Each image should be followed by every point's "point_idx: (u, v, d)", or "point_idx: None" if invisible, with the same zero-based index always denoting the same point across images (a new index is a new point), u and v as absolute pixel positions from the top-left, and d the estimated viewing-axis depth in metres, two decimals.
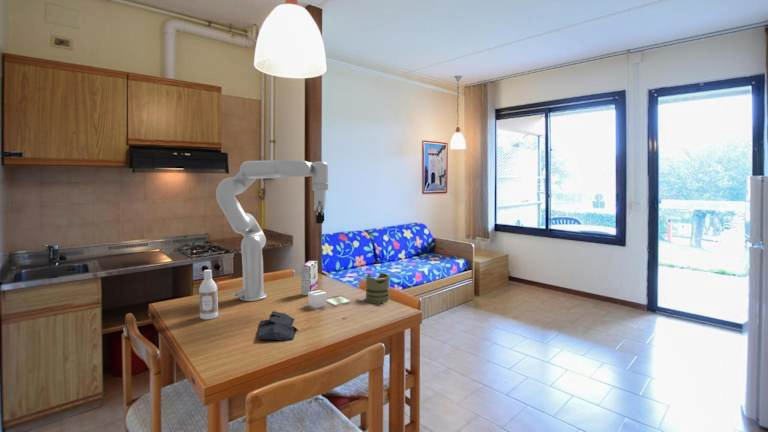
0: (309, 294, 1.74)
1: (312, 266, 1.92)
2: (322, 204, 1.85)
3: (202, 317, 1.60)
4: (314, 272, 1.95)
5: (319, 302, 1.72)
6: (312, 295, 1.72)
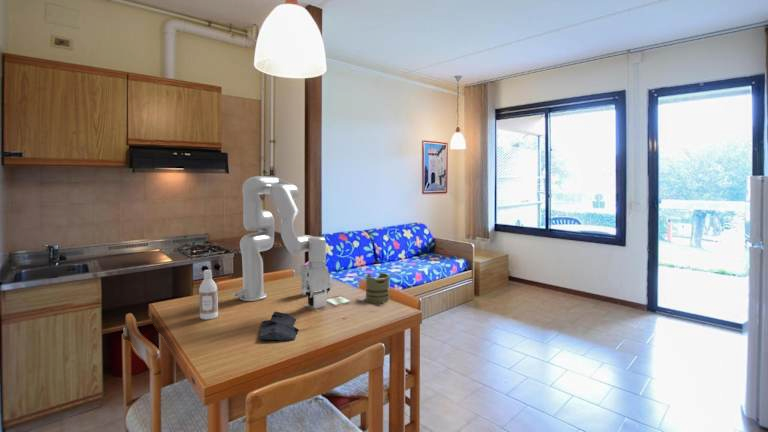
0: None
1: None
2: None
3: (202, 317, 1.60)
4: None
5: (319, 302, 1.72)
6: None
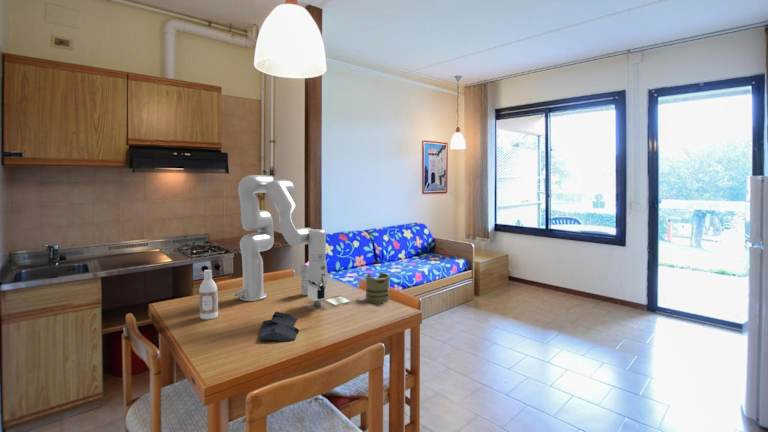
0: (316, 289, 1.71)
1: None
2: None
3: (202, 317, 1.60)
4: None
5: None
6: None
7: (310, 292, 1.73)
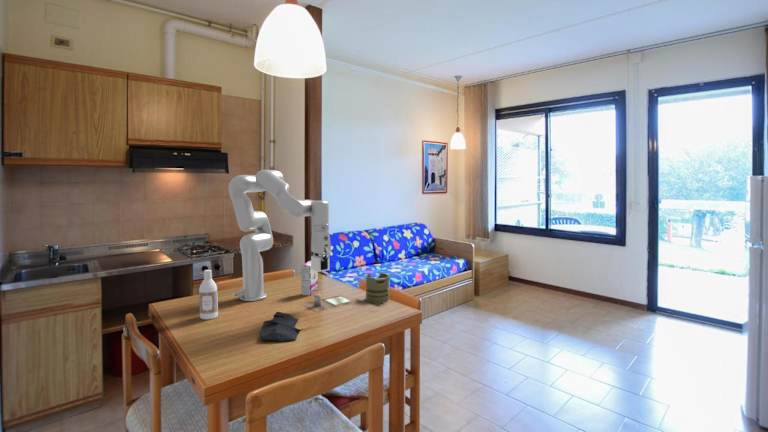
0: (320, 259, 1.71)
1: None
2: None
3: (202, 317, 1.60)
4: (314, 272, 1.95)
5: None
6: None
7: (313, 264, 1.73)
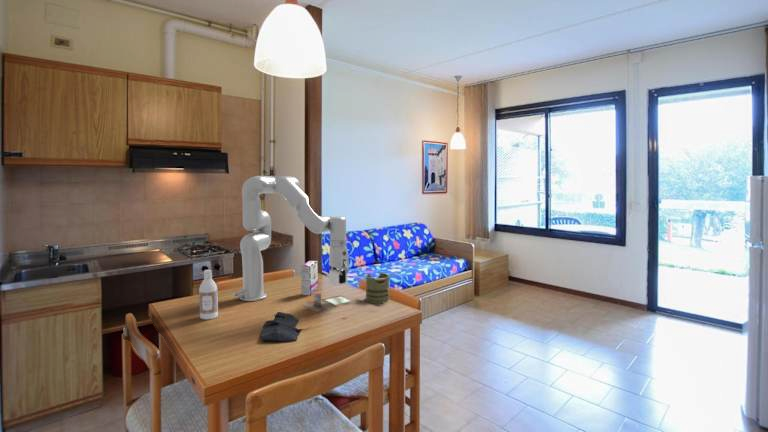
0: (338, 273, 1.77)
1: (312, 266, 1.92)
2: None
3: (202, 317, 1.60)
4: (314, 272, 1.95)
5: None
6: None
7: (332, 277, 1.79)
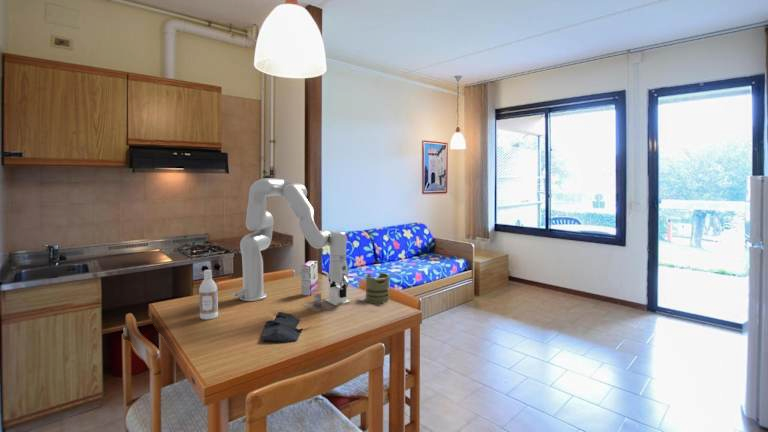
0: (338, 291, 1.78)
1: (312, 266, 1.92)
2: None
3: (202, 317, 1.60)
4: (314, 272, 1.95)
5: None
6: None
7: (331, 295, 1.80)
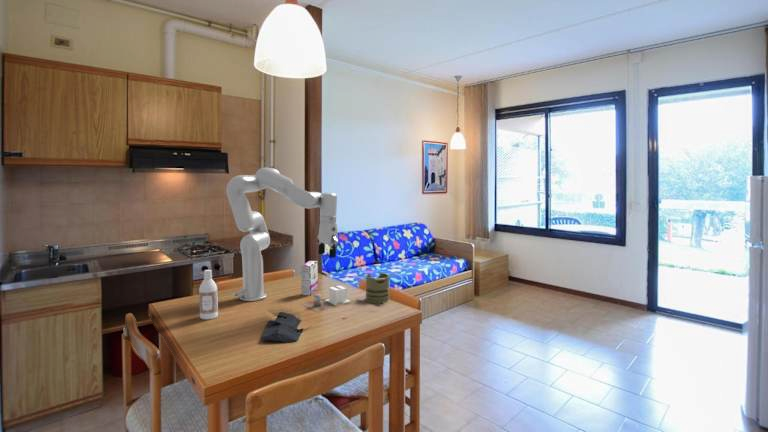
0: (338, 291, 1.78)
1: (312, 266, 1.92)
2: None
3: (202, 317, 1.60)
4: (314, 272, 1.95)
5: None
6: (342, 290, 1.80)
7: (331, 295, 1.80)
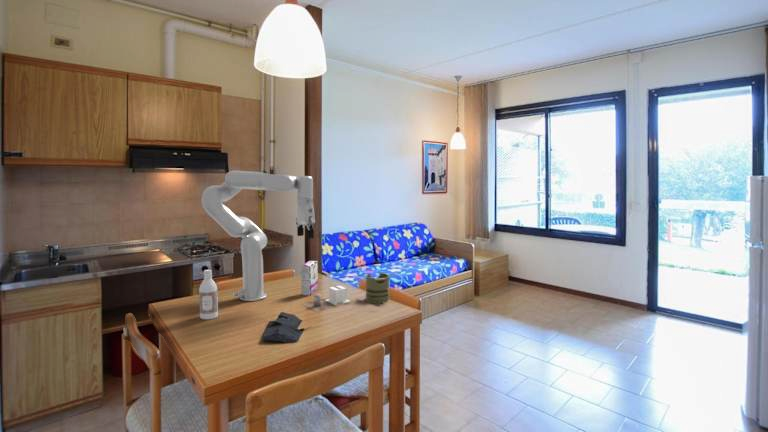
0: (338, 291, 1.78)
1: (312, 266, 1.92)
2: None
3: (202, 317, 1.60)
4: (314, 272, 1.95)
5: None
6: (342, 290, 1.80)
7: (331, 295, 1.80)
